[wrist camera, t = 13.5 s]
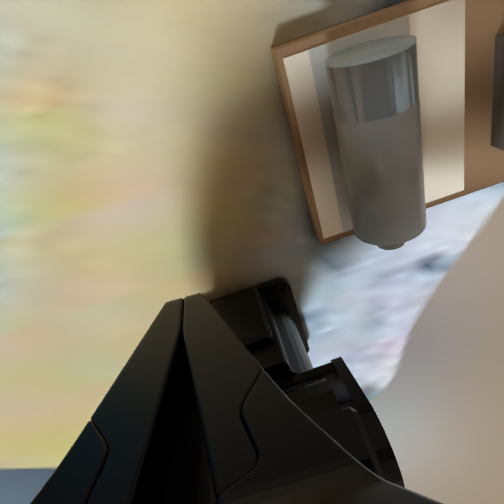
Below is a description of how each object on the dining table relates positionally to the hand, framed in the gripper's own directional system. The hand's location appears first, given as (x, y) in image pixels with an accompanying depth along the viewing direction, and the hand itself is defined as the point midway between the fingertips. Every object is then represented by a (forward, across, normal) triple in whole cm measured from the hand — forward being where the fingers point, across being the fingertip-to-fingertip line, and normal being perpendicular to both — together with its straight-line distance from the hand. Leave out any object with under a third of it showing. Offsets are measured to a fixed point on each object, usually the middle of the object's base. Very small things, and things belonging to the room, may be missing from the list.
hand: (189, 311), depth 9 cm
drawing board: (+12, -13, +1) cm, 18 cm away
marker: (+10, -9, +1) cm, 14 cm away
